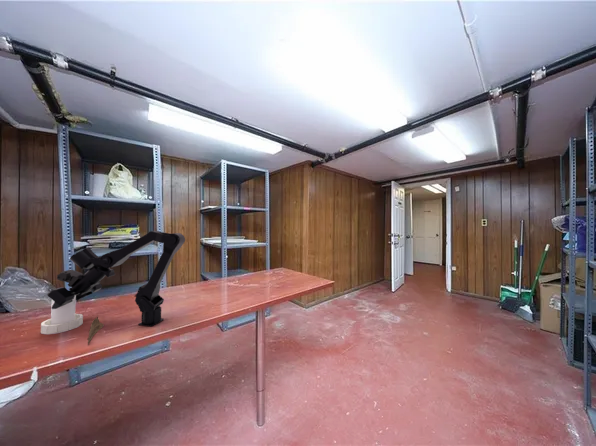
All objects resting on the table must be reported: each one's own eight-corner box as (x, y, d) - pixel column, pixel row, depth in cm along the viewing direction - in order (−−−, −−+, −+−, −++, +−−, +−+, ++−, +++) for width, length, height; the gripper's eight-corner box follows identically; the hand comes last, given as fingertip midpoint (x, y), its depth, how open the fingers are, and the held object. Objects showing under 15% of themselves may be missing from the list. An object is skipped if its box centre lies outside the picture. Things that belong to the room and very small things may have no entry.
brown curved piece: (93, 344, 73) (94, 329, 73) (85, 345, 72) (86, 330, 72) (103, 326, 86) (104, 313, 86) (96, 327, 85) (97, 314, 85)
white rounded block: (65, 326, 82) (66, 294, 82) (45, 327, 80) (46, 295, 81) (79, 319, 88) (80, 289, 88) (61, 320, 87) (62, 290, 87)
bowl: (89, 322, 89) (89, 315, 89) (55, 335, 78) (55, 327, 78) (68, 319, 91) (69, 312, 91) (32, 332, 80) (32, 324, 80)
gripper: (94, 259, 95) (65, 285, 93) (54, 267, 76) (16, 300, 74) (114, 276, 96) (85, 302, 94) (79, 288, 77) (42, 321, 75)
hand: (59, 306), depth 84 cm, fingers closed on white rounded block, 5 cm apart
